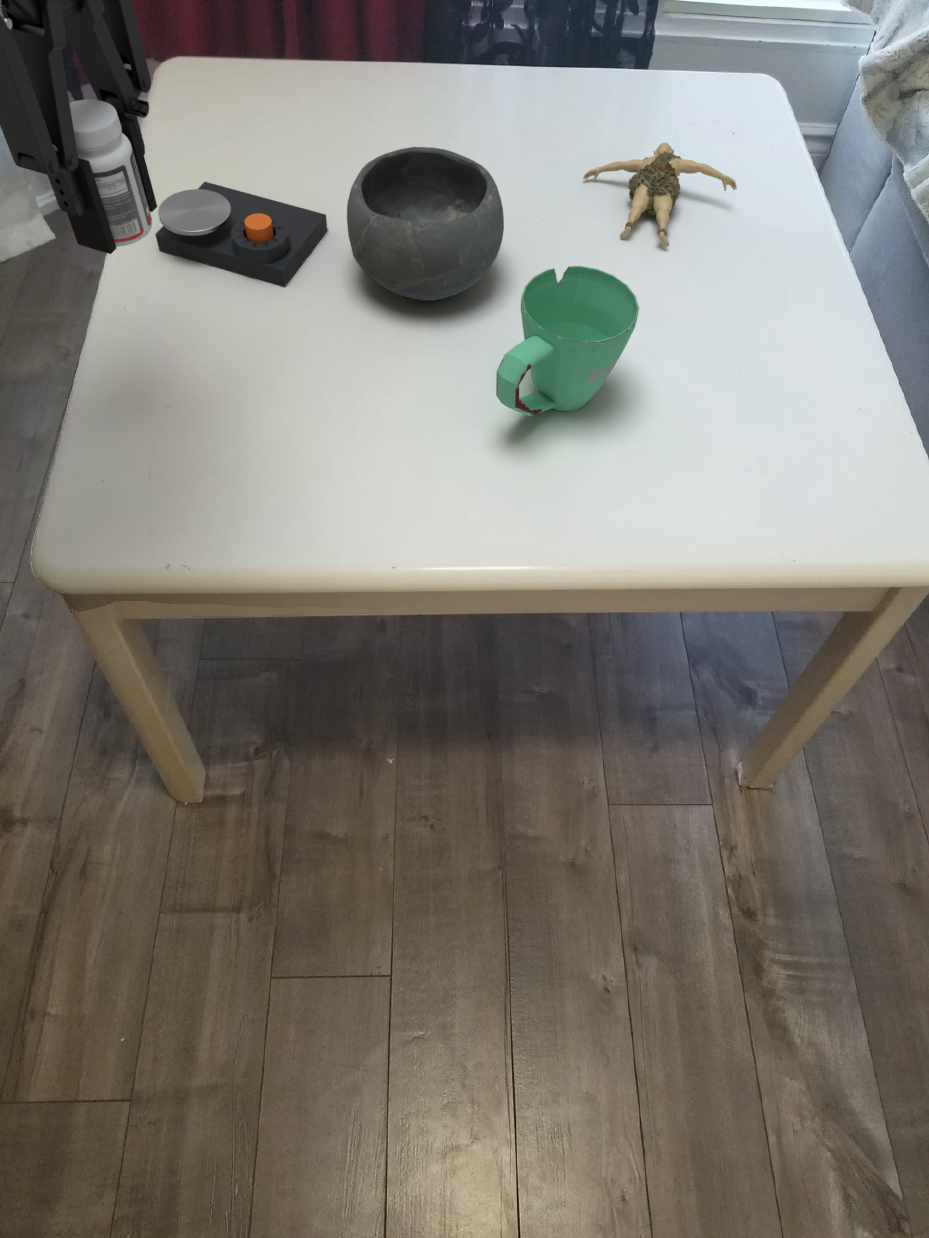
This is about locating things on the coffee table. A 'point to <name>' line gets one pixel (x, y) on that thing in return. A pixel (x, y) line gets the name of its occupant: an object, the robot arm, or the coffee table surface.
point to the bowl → (425, 222)
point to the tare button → (259, 228)
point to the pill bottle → (112, 169)
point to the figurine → (657, 184)
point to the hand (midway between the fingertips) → (118, 224)
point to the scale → (253, 259)
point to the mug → (567, 339)
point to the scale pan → (195, 212)
